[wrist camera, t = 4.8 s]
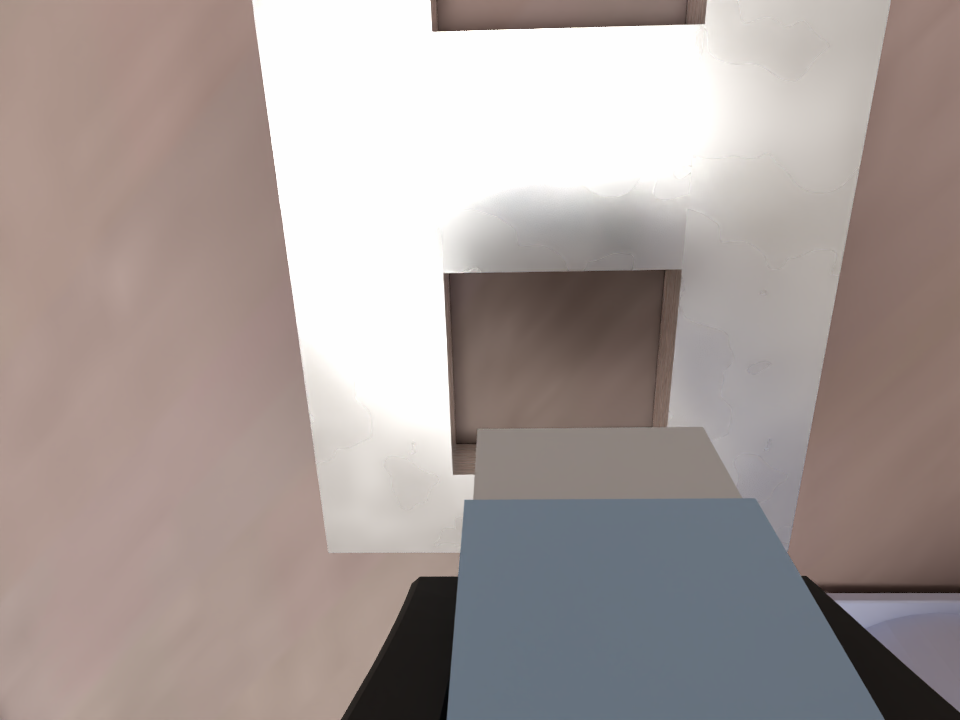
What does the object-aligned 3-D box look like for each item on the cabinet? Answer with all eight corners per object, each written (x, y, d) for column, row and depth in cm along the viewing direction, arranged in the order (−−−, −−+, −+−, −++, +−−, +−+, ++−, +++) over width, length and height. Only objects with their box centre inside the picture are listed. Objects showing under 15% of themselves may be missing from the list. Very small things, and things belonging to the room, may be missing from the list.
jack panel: (936, -490, 11) (996, -567, 10) (767, 516, 19) (787, 551, 18) (217, -452, 12) (180, -520, 10) (340, 518, 20) (328, 552, 18)
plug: (710, 420, 10) (1049, 1002, 4) (688, 606, 12) (911, 1257, 5) (470, 423, 11) (424, 992, 4) (477, 607, 12) (449, 1242, 6)
